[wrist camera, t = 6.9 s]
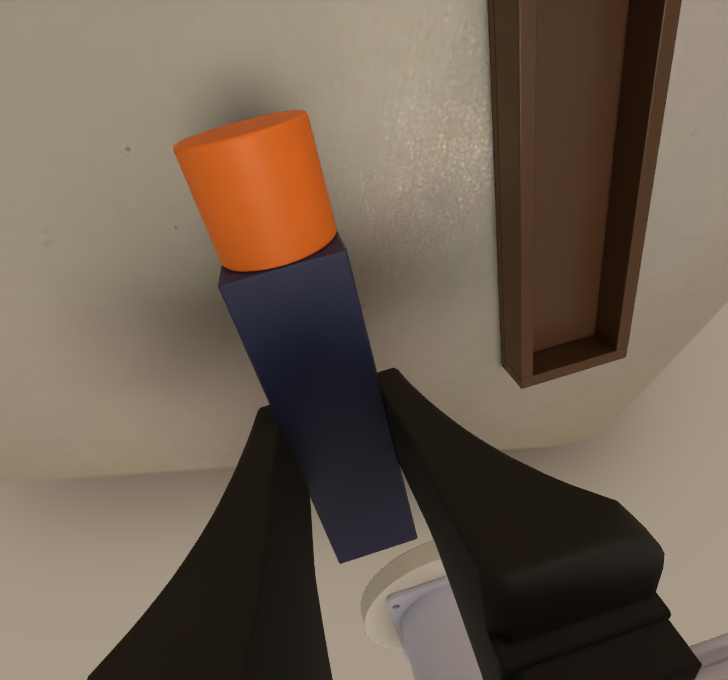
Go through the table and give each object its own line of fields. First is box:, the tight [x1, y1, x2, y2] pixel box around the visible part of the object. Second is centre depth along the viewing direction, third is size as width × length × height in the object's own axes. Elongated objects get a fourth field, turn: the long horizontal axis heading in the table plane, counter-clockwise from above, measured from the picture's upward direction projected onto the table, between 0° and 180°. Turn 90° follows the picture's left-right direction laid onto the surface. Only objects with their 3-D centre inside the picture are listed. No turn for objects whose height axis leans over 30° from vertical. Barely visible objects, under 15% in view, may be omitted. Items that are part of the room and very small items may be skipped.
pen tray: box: [489, 0, 682, 389], centre depth 18 cm, size 16×5×2 cm, turn 12°
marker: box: [173, 110, 417, 564], centre depth 12 cm, size 12×3×3 cm, turn 12°
